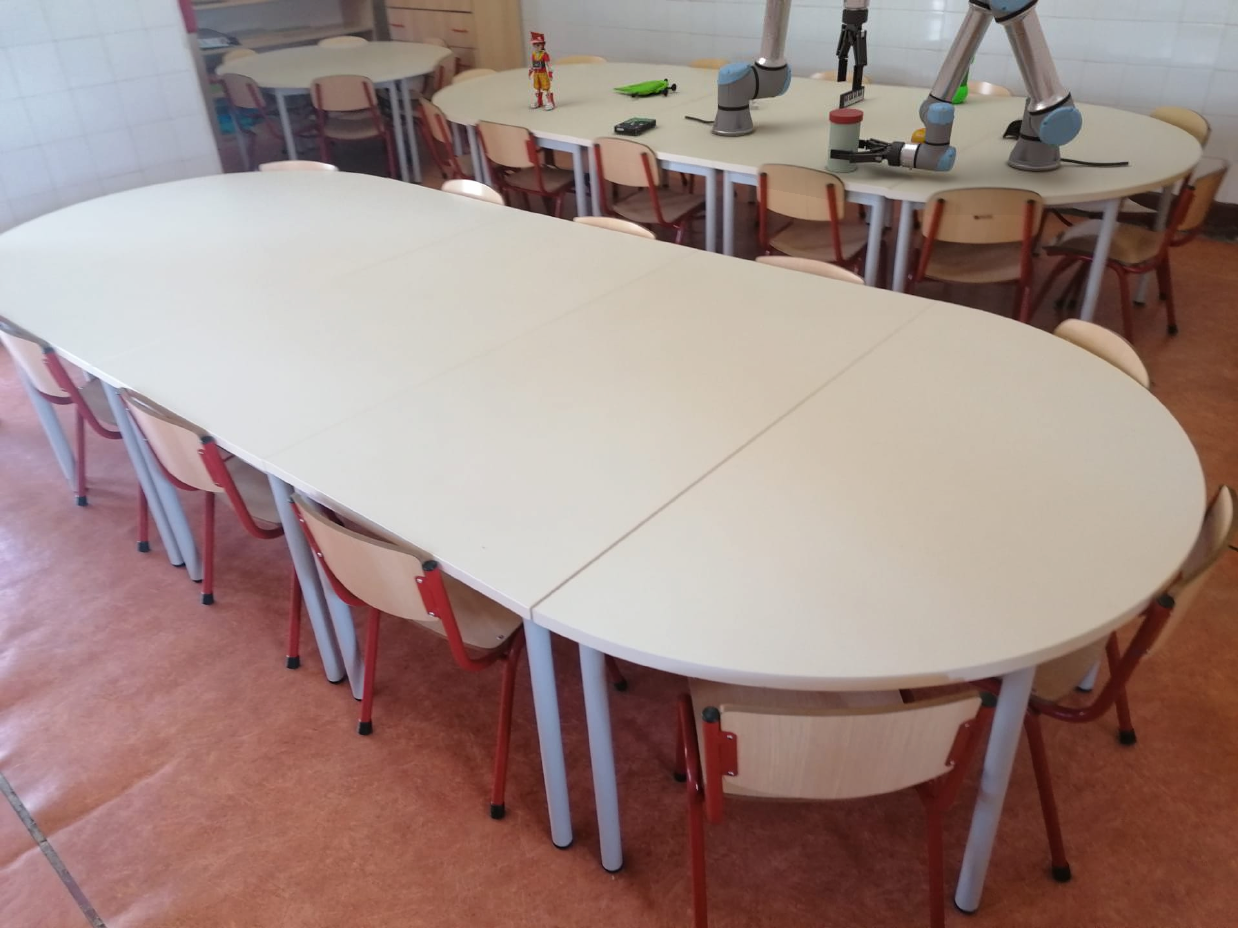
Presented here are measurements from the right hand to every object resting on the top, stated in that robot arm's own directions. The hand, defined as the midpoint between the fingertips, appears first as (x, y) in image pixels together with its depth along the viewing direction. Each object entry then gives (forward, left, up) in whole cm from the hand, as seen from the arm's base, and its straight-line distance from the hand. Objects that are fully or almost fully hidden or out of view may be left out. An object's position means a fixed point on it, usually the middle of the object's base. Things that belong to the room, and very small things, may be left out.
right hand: (837, 148), depth 290 cm
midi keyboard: (-13, -85, -6) cm, 86 cm away
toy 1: (+115, -92, -6) cm, 148 cm away
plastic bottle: (-53, -83, -6) cm, 98 cm away
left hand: (-2, 0, +19) cm, 19 cm away
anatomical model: (+30, -85, -6) cm, 91 cm away
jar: (-2, 0, -6) cm, 7 cm away
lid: (-2, 0, +11) cm, 11 cm away
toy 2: (+75, -116, -6) cm, 138 cm away
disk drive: (+71, -52, -6) cm, 89 cm away
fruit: (-30, -18, -6) cm, 36 cm away
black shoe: (-72, -40, -6) cm, 82 cm away
